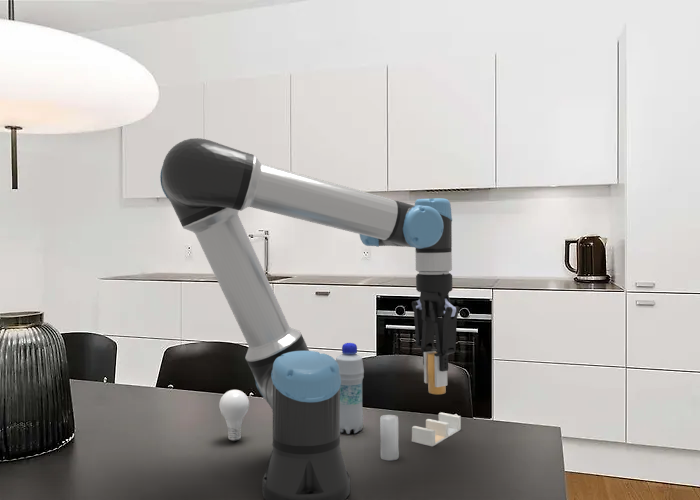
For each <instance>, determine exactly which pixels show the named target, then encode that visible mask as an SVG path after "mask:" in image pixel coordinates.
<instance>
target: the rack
mask: <svg viewBox="0 0 700 500" xmlns="http://www.w3.org/2000/svg"><path fill="white" fill-rule="evenodd" d="M461 417H462V416H461V415H456V414H451V413H445V412H441V411H440V412H439V413H438V420H436V419H431V418H427V419H425V427H422V426H417V425H413V426H412V427H411V442H413V443H416V444H420V445H425V446H429V447H434V446H436V445H438V444H439V443H441V442H443V441H444V440H446V439H448V438H450V437H451V436H453V435H454V434H456V433H458V432H459V431H461V427H462V426H461V425H462V424H461V423H462V422H461V421H462V419H461Z"/></svg>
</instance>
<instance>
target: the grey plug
mask: <svg viewBox="0 0 700 500" xmlns="http://www.w3.org/2000/svg"><path fill="white" fill-rule="evenodd" d="M379 421H380V423H379V428H380V430H379V431H380V436H379V437H380V444H379V445H380V459H381V460H384V461H396V460H398V459H399V457H400V455H399V452H400V451H399V416H398V415H394V414H383V415H381V416H380V418H379Z"/></svg>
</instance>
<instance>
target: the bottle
mask: <svg viewBox="0 0 700 500" xmlns="http://www.w3.org/2000/svg"><path fill="white" fill-rule="evenodd" d="M341 353H342V354H340V355H338V356H337V357H336V358H335V360H336V361H337V363H338V365H339V371H340V377H341V384H340V434H341V433H344V432H345V433H346V434H347V435H350V434H351V431H352V430H353V431H352V432H353V433H354V434H357V433H359V432H360V431H362V430H363V427H364V426H363V425H364V412H363V379H364V377H365V376H364V373H365V370H364V361H363V357H362V356H360V355H358V354H357V353H358V346H357V344H356V343H353V342H346V343H345V342H344V344H342V347H341Z"/></svg>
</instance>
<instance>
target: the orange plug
mask: <svg viewBox="0 0 700 500" xmlns="http://www.w3.org/2000/svg"><path fill="white" fill-rule="evenodd" d="M435 353H437V351H436V352H435ZM427 385H428V391H427V392H428V393H429V394H432V395H444V394H446V392H447V391H446V388H447V387H446V386H441V387H435V362H434V353H429V354H428V383H427Z"/></svg>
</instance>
